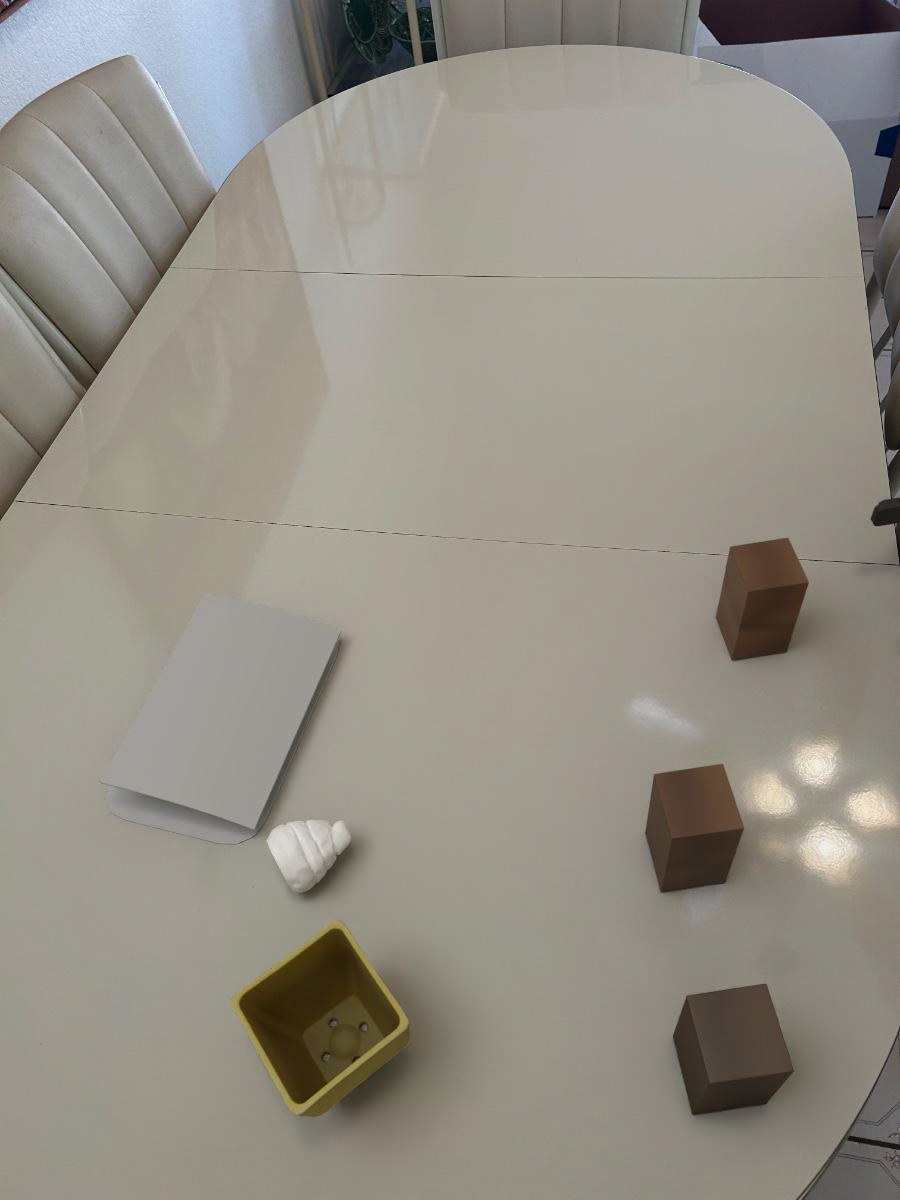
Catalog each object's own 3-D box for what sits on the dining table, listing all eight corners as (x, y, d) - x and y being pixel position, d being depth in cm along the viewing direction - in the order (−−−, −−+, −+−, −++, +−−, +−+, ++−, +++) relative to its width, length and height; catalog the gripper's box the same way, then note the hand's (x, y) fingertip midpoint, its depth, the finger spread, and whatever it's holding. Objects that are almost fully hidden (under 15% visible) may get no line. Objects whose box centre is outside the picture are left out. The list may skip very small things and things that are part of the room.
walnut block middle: (707, 823, 74) (723, 763, 67) (725, 883, 71) (744, 828, 64) (644, 832, 75) (653, 773, 67) (660, 893, 71) (671, 838, 64)
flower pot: (324, 1142, 63) (293, 1119, 56) (262, 1033, 68) (226, 998, 61) (429, 1056, 66) (412, 1023, 59) (362, 957, 71) (339, 915, 64)
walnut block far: (768, 608, 87) (788, 537, 79) (787, 652, 84) (809, 582, 76) (715, 617, 87) (729, 546, 79) (731, 660, 84) (748, 591, 76)
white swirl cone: (368, 868, 75) (356, 840, 71) (301, 907, 74) (284, 880, 69) (339, 814, 78) (326, 784, 74) (274, 851, 77) (257, 822, 72)
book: (93, 812, 81) (74, 791, 78) (206, 605, 94) (194, 580, 91) (253, 852, 77) (240, 832, 74) (348, 631, 90) (340, 606, 87)
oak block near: (743, 1025, 65) (766, 982, 57) (766, 1104, 62) (794, 1071, 54) (672, 1035, 65) (686, 995, 57) (692, 1115, 62) (709, 1084, 54)
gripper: (1060, 432, 80) (871, 462, 80) (1157, 557, 71) (945, 590, 71) (1026, 493, 86) (850, 521, 86) (1112, 616, 77) (917, 646, 77)
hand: (894, 552), depth 78 cm, fingers open, 8 cm apart
